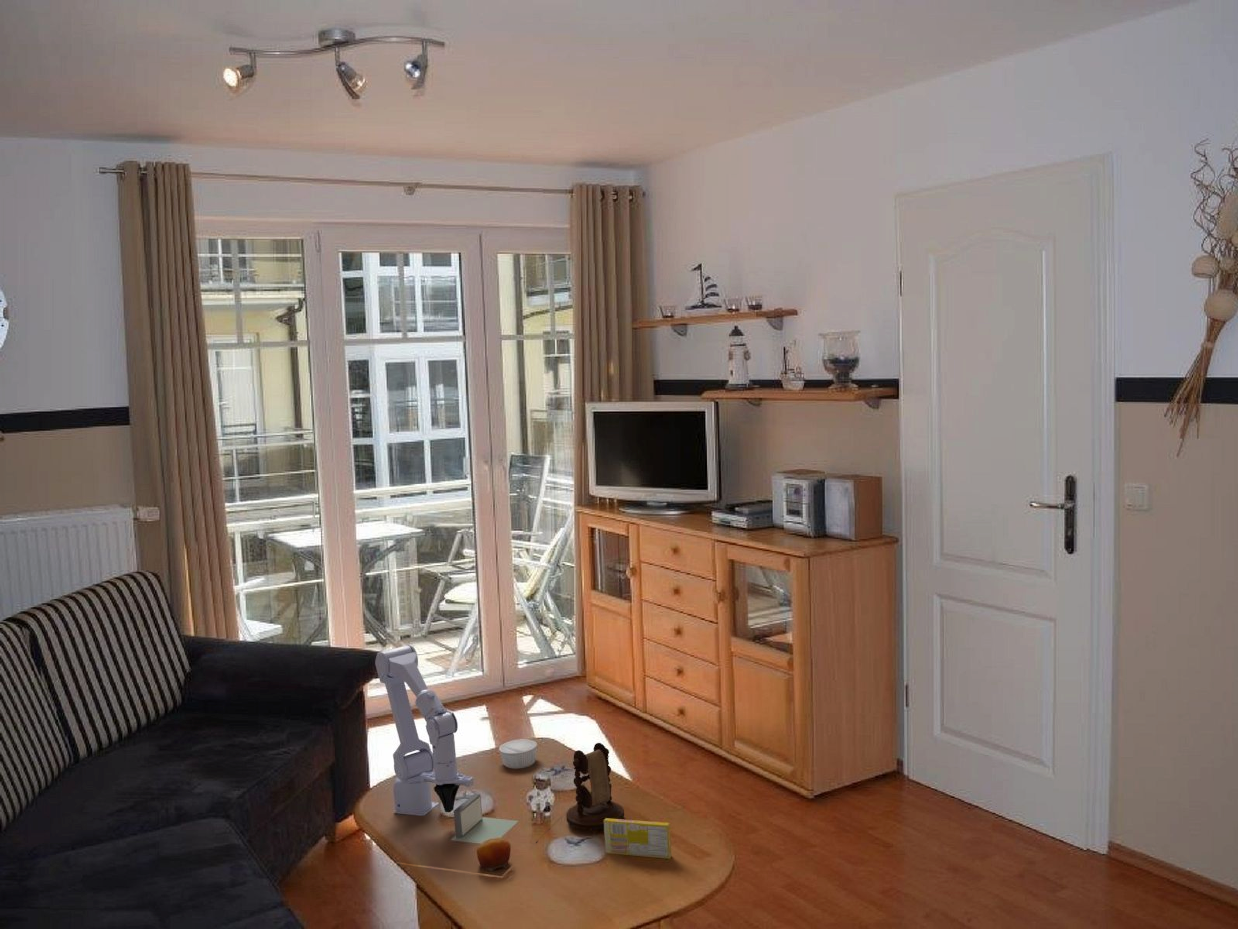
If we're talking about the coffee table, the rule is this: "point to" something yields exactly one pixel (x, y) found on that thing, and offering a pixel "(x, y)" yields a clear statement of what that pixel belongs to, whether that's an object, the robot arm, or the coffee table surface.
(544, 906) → the coffee table surface
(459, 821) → the slate tile
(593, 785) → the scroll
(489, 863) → the fruit
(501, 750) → the ramekin
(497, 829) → the felt mat
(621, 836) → the candy box
